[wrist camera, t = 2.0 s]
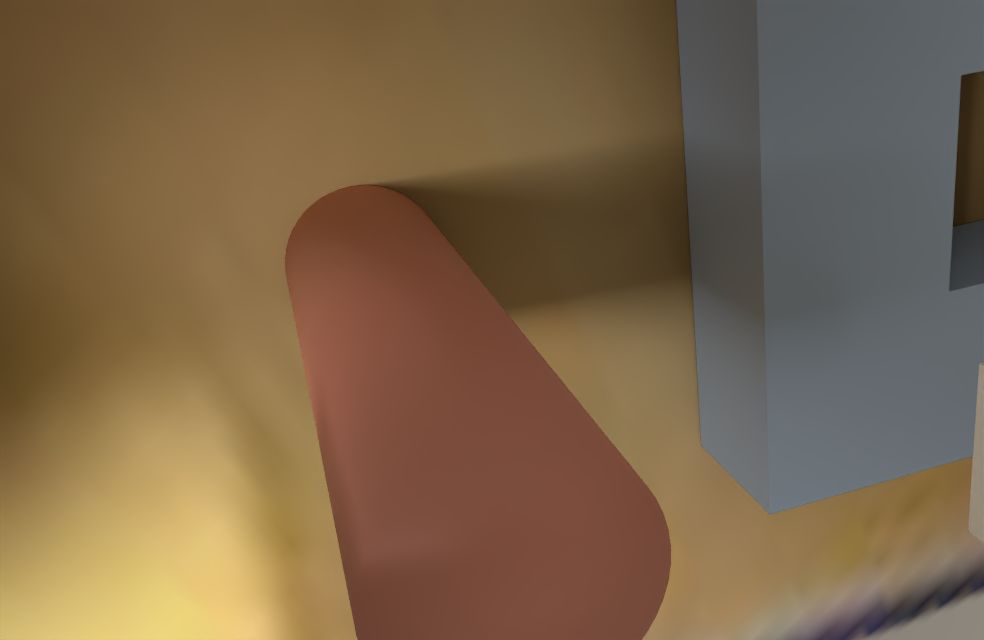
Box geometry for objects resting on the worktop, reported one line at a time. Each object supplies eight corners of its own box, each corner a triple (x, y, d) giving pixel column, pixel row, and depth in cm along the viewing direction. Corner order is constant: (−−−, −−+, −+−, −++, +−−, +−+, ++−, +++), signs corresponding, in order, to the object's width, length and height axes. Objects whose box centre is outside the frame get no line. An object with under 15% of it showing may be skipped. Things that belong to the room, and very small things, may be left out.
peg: (303, 350, 24) (385, 761, 12) (269, 202, 23) (322, 492, 10) (451, 316, 25) (679, 669, 13) (428, 171, 24) (660, 405, 11)
